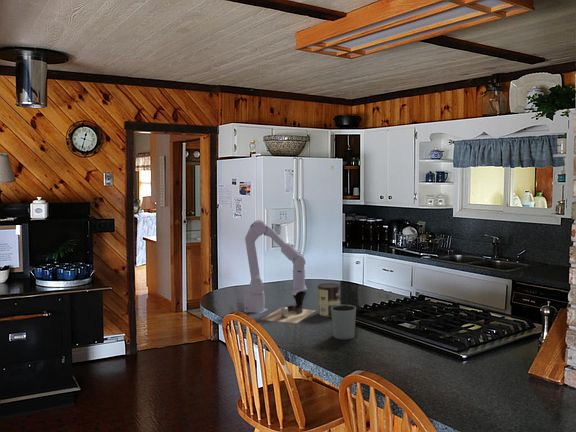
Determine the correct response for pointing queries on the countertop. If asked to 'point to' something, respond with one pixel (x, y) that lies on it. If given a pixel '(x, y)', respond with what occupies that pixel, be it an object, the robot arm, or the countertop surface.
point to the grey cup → (343, 321)
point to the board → (292, 316)
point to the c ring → (295, 308)
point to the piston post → (284, 312)
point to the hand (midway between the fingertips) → (299, 306)
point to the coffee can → (328, 298)
